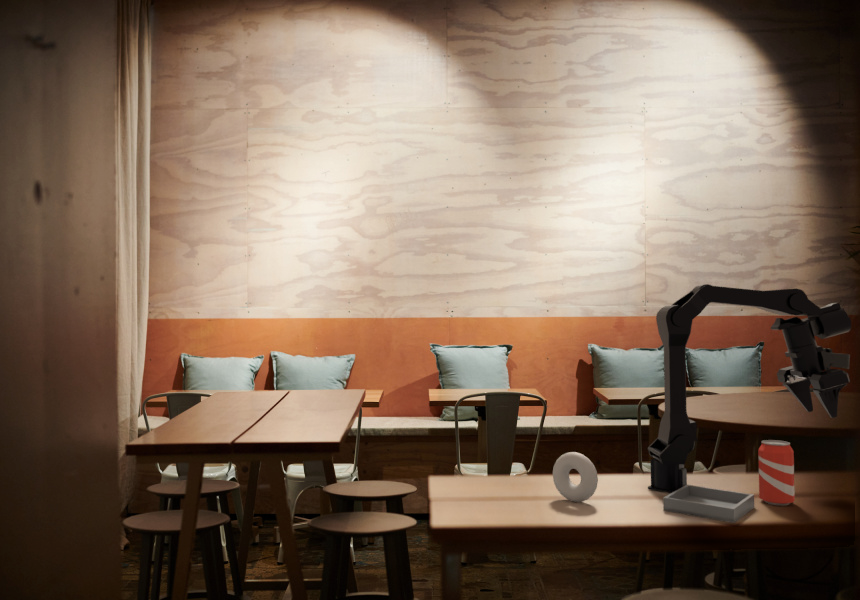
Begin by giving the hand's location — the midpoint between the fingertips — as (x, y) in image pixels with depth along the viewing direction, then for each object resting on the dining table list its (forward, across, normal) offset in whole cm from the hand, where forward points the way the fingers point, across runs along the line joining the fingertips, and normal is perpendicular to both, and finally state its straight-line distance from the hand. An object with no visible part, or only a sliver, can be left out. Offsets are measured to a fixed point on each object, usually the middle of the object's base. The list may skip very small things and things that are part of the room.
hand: (822, 414), depth 149 cm
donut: (+1, -9, +58) cm, 58 cm away
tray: (+8, -15, +34) cm, 38 cm away
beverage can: (+12, -11, +19) cm, 25 cm away
